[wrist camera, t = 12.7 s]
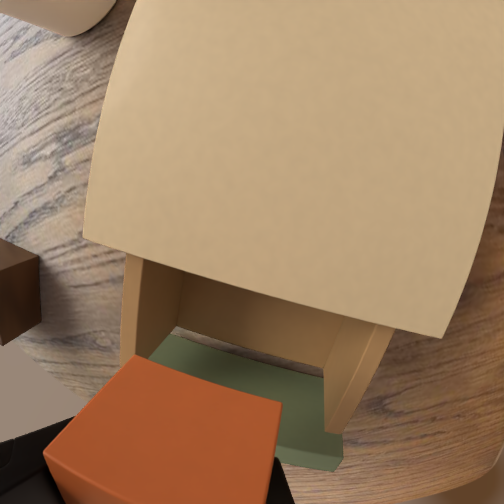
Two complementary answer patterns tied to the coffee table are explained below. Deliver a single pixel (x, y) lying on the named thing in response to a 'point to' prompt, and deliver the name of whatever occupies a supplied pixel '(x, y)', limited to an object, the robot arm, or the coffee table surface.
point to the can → (59, 13)
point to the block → (166, 442)
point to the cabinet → (306, 148)
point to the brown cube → (18, 291)
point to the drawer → (258, 339)
